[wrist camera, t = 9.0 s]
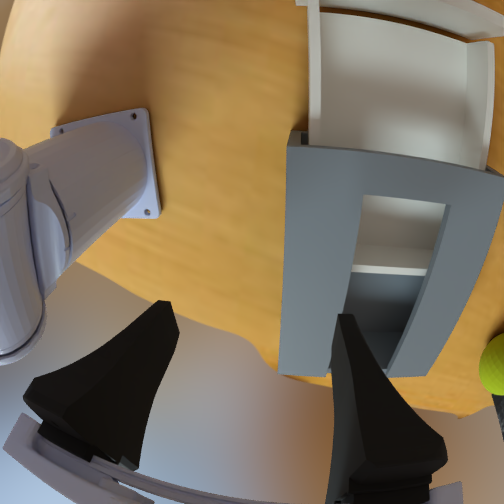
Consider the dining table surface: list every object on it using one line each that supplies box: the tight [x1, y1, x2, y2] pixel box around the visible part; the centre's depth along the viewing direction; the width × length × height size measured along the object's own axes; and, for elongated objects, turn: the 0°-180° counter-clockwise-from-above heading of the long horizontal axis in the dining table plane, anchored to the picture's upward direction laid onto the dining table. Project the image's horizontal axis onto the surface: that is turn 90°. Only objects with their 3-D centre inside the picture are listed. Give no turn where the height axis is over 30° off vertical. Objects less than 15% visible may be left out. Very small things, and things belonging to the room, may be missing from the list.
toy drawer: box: [295, 0, 504, 276], centre depth 11 cm, size 11×21×5 cm, turn 2°
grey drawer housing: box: [278, 130, 504, 378], centre depth 18 cm, size 12×16×5 cm
